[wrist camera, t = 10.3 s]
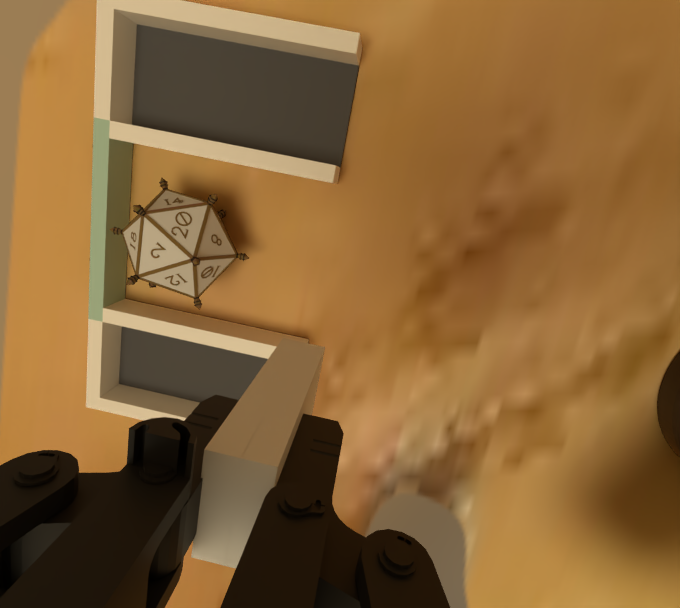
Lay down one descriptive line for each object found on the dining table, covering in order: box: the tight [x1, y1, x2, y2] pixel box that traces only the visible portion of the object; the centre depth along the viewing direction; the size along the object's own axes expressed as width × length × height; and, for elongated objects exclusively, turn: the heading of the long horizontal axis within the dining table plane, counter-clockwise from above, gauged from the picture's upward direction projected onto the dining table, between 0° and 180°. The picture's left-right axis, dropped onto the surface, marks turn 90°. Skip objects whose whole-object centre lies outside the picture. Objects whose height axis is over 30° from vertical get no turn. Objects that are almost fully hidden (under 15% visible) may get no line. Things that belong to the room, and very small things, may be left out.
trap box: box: [86, 0, 362, 421], centre depth 33 cm, size 18×32×3 cm, turn 170°
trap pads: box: [119, 24, 359, 403], centre depth 34 cm, size 16×29×1 cm, turn 170°
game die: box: [110, 178, 249, 310], centre depth 31 cm, size 9×8×10 cm
